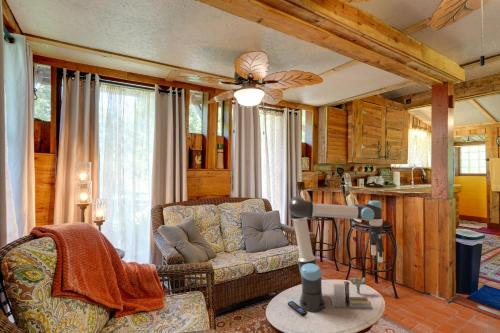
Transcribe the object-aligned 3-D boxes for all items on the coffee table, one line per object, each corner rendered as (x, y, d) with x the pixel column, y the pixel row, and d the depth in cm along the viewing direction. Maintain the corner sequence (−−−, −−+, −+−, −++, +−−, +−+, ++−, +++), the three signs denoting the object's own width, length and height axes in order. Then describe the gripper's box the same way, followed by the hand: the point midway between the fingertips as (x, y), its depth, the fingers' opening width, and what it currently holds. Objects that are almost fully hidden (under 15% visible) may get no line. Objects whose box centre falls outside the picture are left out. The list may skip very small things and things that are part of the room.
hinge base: (333, 307, 160) (332, 286, 160) (330, 298, 172) (329, 278, 172) (371, 309, 157) (370, 287, 157) (365, 299, 169) (364, 278, 169)
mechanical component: (367, 294, 175) (366, 278, 175) (351, 294, 175) (350, 279, 176) (365, 292, 178) (364, 276, 178) (349, 292, 178) (349, 277, 179)
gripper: (389, 229, 160) (390, 265, 160) (375, 221, 185) (377, 252, 184) (375, 229, 161) (376, 265, 161) (364, 221, 186) (365, 252, 186)
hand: (377, 258), depth 173 cm, fingers open, 13 cm apart
